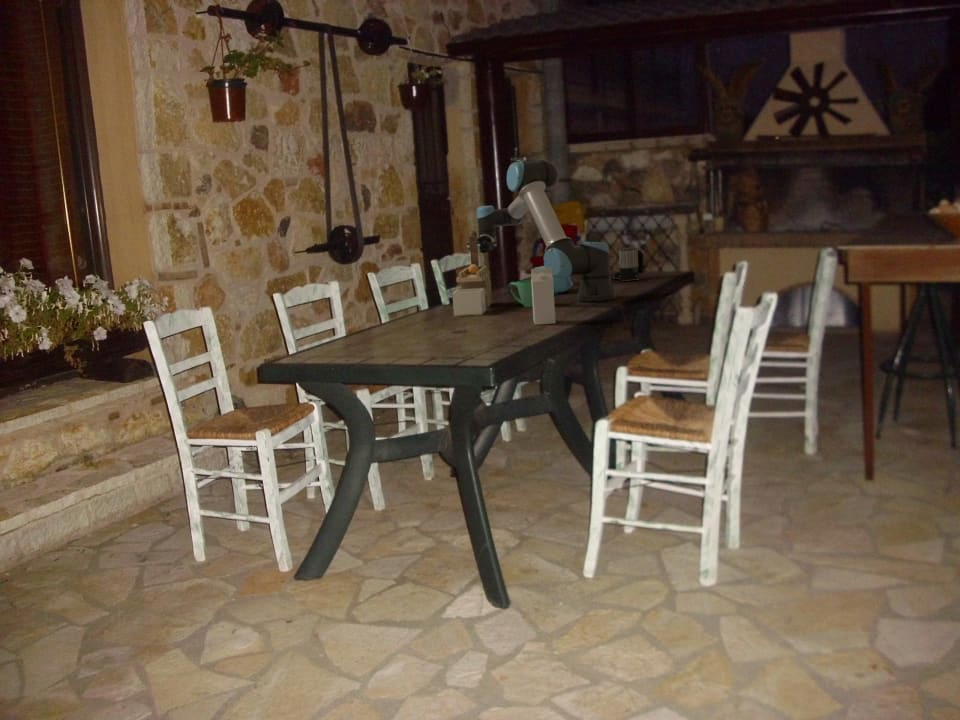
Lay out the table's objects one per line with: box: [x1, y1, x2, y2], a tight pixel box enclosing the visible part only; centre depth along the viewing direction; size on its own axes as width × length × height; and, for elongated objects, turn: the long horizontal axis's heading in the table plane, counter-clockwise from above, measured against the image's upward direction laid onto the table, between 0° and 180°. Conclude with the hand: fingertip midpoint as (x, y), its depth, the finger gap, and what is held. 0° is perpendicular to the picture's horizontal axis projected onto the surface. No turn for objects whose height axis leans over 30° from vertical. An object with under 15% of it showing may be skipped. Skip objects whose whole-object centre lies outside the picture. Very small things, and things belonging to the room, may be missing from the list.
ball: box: [468, 264, 478, 274], centre depth 382 cm, size 4×4×4 cm
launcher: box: [455, 265, 493, 309], centre depth 382 cm, size 22×10×16 cm, turn 172°
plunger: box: [468, 230, 483, 273], centre depth 385 cm, size 4×5×17 cm
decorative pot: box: [533, 265, 574, 295], centre depth 412 cm, size 16×16×14 cm
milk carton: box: [530, 268, 556, 326], centre depth 332 cm, size 7×7×19 cm
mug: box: [507, 279, 533, 308], centre depth 378 cm, size 15×10×10 cm
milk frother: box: [610, 246, 644, 280], centre depth 439 cm, size 14×16×15 cm
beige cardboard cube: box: [451, 288, 487, 317], centre depth 369 cm, size 11×11×9 cm
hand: (476, 249), depth 392 cm, fingers closed
